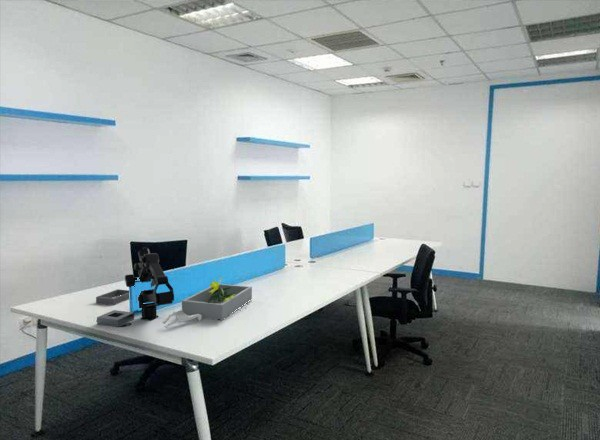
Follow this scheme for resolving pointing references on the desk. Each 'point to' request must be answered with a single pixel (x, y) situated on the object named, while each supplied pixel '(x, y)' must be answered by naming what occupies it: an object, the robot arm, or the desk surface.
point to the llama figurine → (181, 317)
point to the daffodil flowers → (218, 291)
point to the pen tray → (109, 296)
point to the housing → (115, 318)
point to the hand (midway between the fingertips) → (141, 287)
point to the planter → (214, 310)
